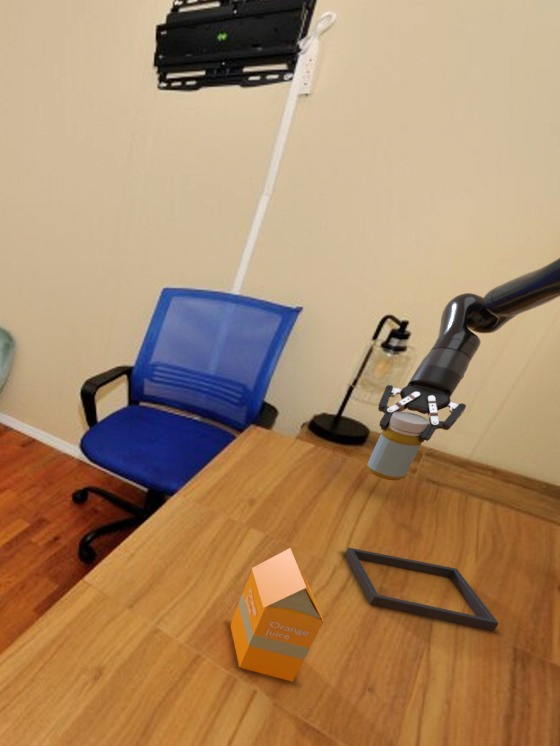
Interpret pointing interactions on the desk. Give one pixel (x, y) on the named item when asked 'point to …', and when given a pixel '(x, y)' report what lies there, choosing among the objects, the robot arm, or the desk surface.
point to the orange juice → (275, 619)
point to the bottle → (397, 446)
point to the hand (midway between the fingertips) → (402, 434)
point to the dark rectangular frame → (479, 621)
